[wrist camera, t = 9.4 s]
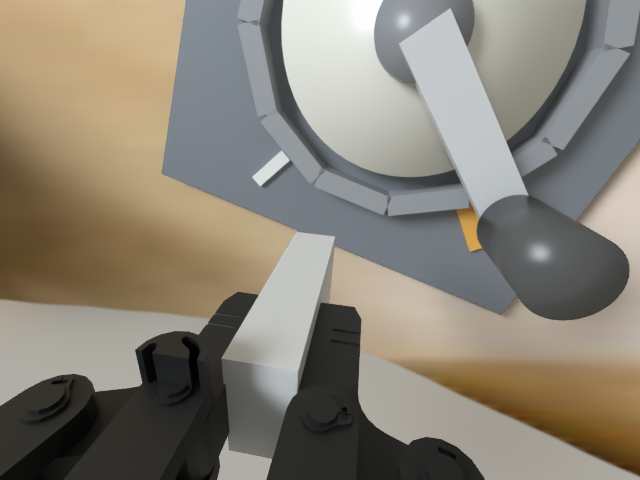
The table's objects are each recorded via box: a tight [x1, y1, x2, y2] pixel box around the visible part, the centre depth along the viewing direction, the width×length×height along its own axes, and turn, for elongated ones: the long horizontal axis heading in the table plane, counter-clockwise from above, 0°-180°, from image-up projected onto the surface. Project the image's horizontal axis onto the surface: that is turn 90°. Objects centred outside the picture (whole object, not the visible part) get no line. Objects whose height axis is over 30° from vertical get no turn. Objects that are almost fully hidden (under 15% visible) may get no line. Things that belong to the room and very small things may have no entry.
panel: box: [162, 0, 640, 315], centre depth 17 cm, size 26×26×2 cm
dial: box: [281, 0, 629, 320], centre depth 13 cm, size 20×14×8 cm
